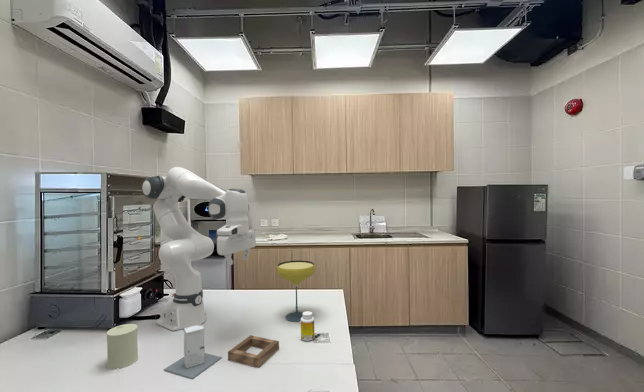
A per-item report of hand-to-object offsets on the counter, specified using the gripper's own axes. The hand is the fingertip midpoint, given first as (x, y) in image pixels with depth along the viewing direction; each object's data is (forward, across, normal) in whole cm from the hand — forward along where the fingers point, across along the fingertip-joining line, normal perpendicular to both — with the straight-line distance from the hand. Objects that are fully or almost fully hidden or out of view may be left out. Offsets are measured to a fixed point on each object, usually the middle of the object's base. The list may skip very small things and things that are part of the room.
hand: (238, 262), depth 120 cm
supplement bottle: (+31, -10, +26) cm, 42 cm away
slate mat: (+31, +21, -3) cm, 38 cm away
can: (+31, +29, -28) cm, 51 cm away
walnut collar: (+31, +8, +13) cm, 35 cm away
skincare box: (+31, +21, -3) cm, 37 cm away
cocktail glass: (+31, -27, +12) cm, 43 cm away
